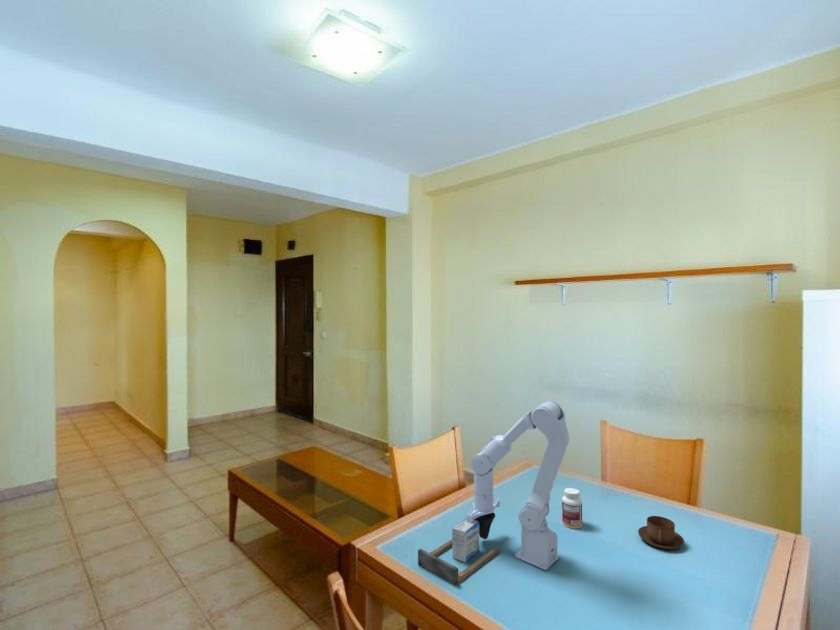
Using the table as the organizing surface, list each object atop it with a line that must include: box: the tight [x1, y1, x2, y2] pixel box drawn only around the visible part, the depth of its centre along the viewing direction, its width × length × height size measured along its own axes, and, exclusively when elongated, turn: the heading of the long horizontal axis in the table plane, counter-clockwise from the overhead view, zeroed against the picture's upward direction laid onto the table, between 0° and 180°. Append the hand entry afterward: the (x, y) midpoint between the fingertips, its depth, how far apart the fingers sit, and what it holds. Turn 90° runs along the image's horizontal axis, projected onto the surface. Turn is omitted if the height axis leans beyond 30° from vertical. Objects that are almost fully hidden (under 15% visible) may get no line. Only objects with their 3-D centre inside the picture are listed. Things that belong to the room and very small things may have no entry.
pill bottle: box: [561, 487, 583, 530], centre depth 140 cm, size 6×6×11 cm
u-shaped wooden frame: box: [417, 539, 500, 586], centre depth 121 cm, size 13×20×4 cm, turn 137°
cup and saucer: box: [637, 515, 685, 550], centre depth 129 cm, size 12×12×6 cm
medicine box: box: [451, 517, 480, 563], centre depth 123 cm, size 8×4×9 cm, turn 143°
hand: (483, 537), depth 130 cm, fingers closed
